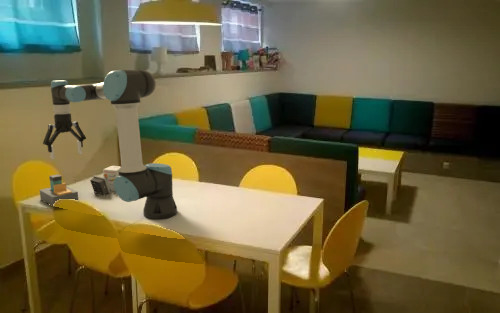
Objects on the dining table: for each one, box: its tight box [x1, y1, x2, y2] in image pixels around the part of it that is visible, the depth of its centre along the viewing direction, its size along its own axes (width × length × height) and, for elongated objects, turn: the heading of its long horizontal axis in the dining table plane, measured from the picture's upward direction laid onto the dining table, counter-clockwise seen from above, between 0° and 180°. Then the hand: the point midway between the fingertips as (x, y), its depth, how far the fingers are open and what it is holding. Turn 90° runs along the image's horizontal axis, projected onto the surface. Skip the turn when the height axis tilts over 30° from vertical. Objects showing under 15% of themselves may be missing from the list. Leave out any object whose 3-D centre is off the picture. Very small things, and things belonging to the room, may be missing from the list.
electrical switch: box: [89, 175, 111, 196], centre depth 224 cm, size 9×5×9 cm, turn 57°
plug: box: [49, 173, 63, 192], centre depth 213 cm, size 4×4×12 cm
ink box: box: [102, 165, 121, 192], centre depth 232 cm, size 9×8×12 cm
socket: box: [39, 185, 79, 207], centre depth 213 cm, size 16×12×5 cm
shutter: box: [53, 182, 72, 196], centre depth 209 cm, size 6×6×4 cm
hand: (66, 156), depth 211 cm, fingers open, 13 cm apart
